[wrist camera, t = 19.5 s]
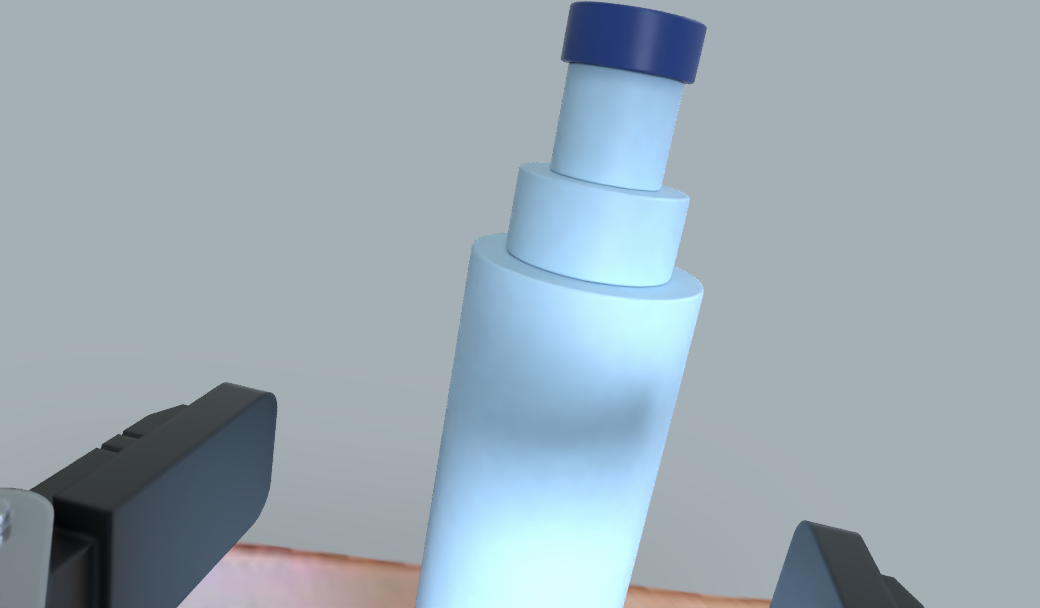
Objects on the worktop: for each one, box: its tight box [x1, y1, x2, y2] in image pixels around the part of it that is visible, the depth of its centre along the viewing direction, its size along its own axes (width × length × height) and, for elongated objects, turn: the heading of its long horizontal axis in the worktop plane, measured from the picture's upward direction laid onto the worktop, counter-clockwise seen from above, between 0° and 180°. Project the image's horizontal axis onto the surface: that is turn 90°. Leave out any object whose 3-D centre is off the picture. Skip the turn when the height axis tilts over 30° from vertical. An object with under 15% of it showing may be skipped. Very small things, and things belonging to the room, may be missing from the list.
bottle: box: [415, 1, 707, 608], centre depth 19 cm, size 6×6×20 cm
